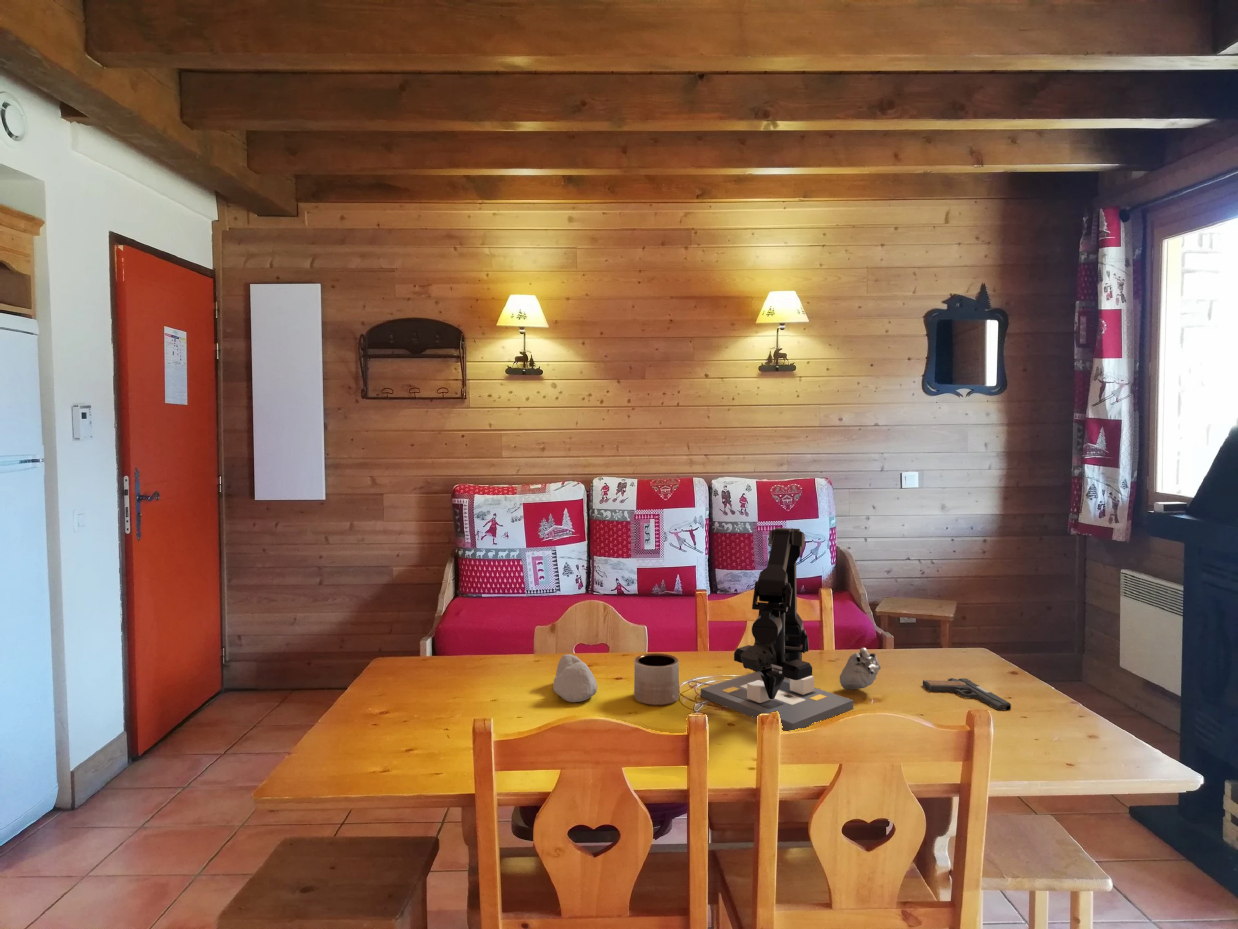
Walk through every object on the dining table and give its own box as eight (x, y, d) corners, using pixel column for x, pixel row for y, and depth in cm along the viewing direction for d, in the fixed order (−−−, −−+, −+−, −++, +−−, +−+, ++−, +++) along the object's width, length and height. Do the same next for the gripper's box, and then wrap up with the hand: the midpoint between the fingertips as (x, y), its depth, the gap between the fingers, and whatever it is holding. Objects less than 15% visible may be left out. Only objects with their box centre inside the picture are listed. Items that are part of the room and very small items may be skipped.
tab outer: (758, 694, 185) (758, 679, 185) (771, 699, 182) (771, 684, 182) (747, 698, 183) (747, 683, 183) (760, 703, 180) (760, 688, 180)
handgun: (966, 718, 180) (1013, 712, 182) (966, 708, 179) (1013, 703, 182) (919, 687, 198) (961, 683, 201) (919, 678, 198) (961, 674, 200)
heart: (880, 684, 198) (872, 637, 198) (887, 697, 189) (879, 648, 188) (839, 689, 199) (831, 643, 199) (844, 702, 190) (836, 654, 190)
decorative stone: (605, 692, 186) (581, 659, 186) (571, 719, 185) (546, 685, 184) (596, 674, 203) (573, 644, 203) (564, 698, 202) (542, 667, 201)
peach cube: (800, 686, 191) (800, 672, 190) (813, 691, 188) (814, 676, 187) (789, 690, 188) (790, 675, 188) (803, 694, 185) (803, 680, 185)
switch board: (761, 677, 204) (761, 669, 204) (853, 708, 183) (853, 699, 182) (700, 696, 191) (700, 687, 191) (792, 732, 169) (792, 722, 169)
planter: (676, 708, 183) (676, 668, 183) (630, 705, 186) (630, 665, 185) (681, 692, 194) (681, 654, 193) (638, 689, 196) (638, 651, 196)
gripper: (717, 629, 181) (717, 695, 182) (781, 647, 167) (781, 719, 168) (750, 621, 188) (749, 685, 189) (814, 638, 174) (813, 707, 175)
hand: (771, 698), depth 180 cm, fingers closed
